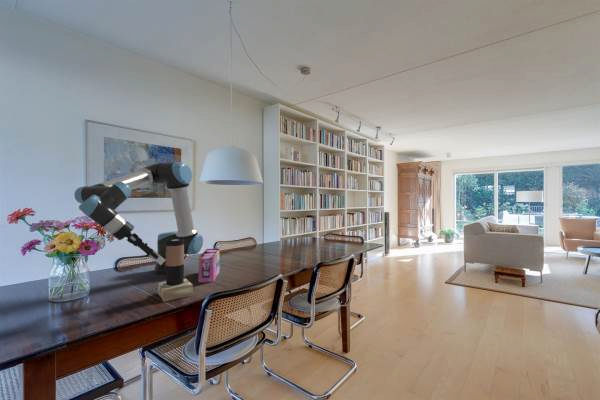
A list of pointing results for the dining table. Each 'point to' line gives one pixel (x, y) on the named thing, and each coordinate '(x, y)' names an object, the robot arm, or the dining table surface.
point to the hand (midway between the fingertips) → (159, 259)
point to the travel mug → (174, 261)
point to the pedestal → (175, 290)
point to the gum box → (209, 265)
